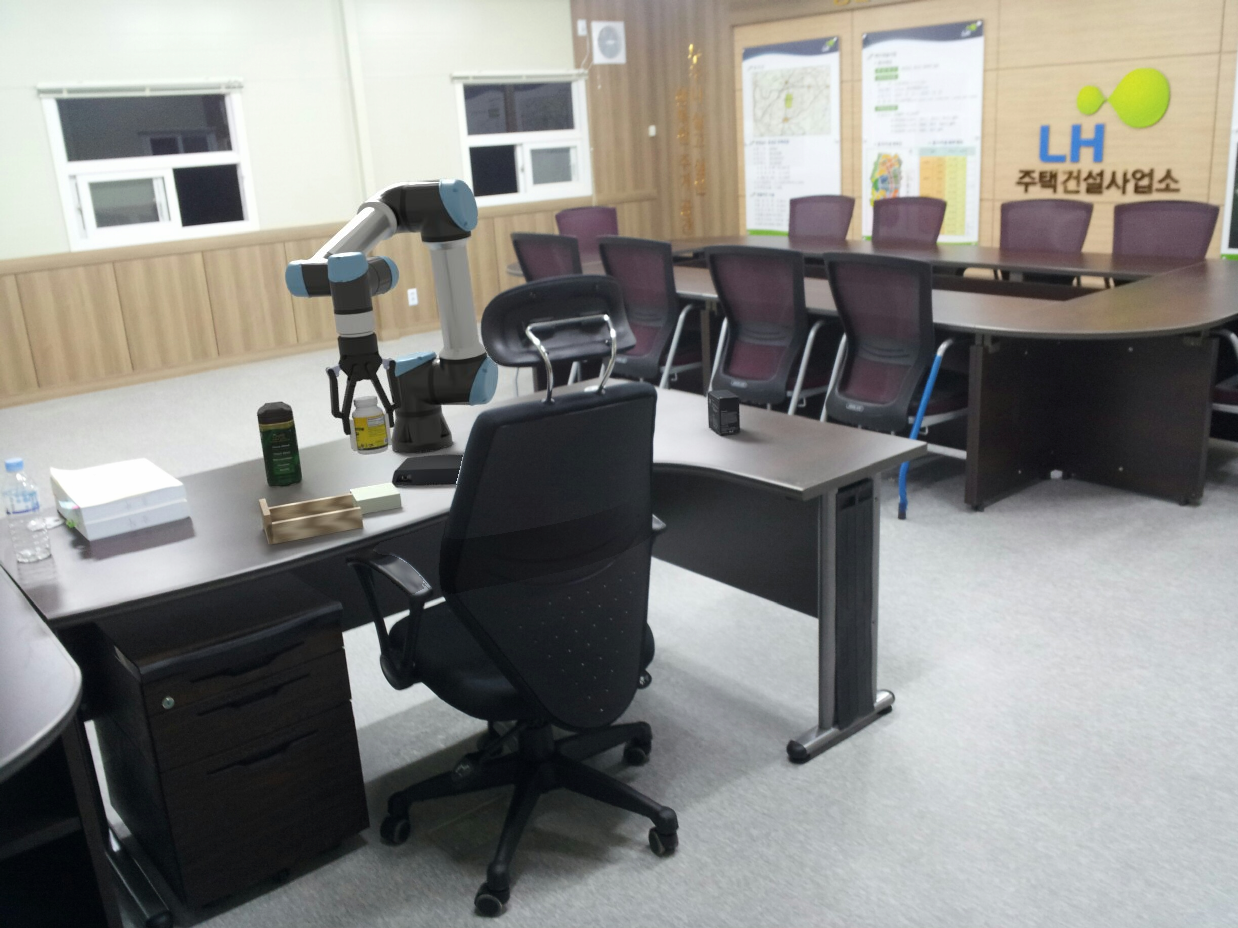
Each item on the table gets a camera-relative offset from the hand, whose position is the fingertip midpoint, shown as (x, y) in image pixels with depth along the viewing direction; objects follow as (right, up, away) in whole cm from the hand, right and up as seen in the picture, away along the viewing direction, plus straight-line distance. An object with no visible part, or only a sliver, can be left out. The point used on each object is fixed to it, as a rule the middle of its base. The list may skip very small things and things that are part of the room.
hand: (371, 446), depth 218 cm
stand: (-1, -12, +11) cm, 16 cm away
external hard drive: (+9, -7, +28) cm, 30 cm away
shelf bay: (-11, -16, -1) cm, 20 cm away
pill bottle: (0, -1, 0) cm, 1 cm away
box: (+76, +5, +51) cm, 92 cm away
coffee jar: (-27, -8, +31) cm, 42 cm away
